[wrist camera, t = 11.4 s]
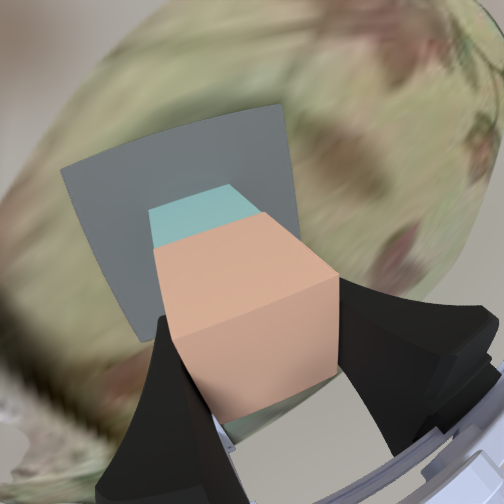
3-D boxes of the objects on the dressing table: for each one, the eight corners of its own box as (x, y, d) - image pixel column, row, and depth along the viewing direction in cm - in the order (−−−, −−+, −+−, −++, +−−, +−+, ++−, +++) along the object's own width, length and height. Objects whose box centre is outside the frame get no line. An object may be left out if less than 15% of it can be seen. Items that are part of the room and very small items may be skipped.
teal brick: (244, 254, 18) (279, 301, 14) (173, 279, 18) (189, 335, 13) (228, 183, 16) (265, 215, 12) (148, 210, 15) (154, 253, 11)
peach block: (278, 299, 14) (336, 373, 10) (188, 334, 13) (219, 425, 9) (264, 211, 12) (339, 274, 8) (153, 249, 11) (171, 340, 7)
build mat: (303, 279, 21) (304, 281, 21) (140, 340, 19) (140, 342, 19) (279, 103, 15) (281, 103, 15) (61, 169, 13) (60, 170, 12)
